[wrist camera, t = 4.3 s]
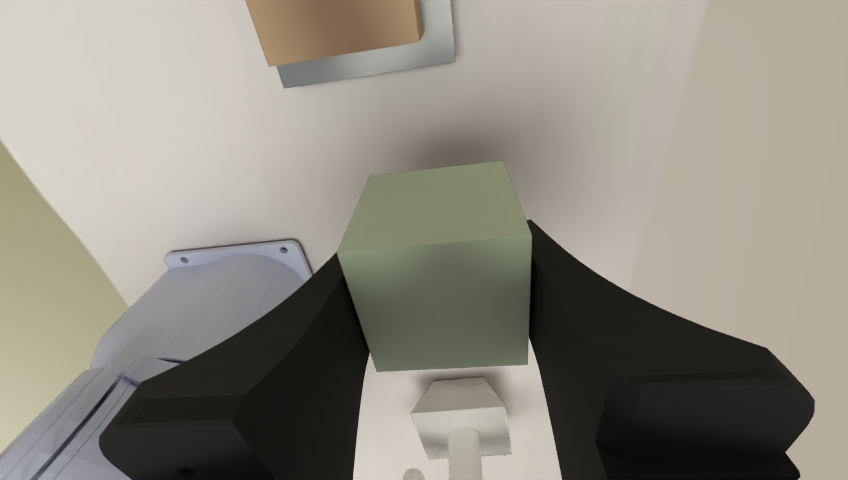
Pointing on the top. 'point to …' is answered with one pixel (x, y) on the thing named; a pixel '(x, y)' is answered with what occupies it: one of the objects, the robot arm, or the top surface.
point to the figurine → (461, 426)
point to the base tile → (382, 53)
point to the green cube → (440, 268)
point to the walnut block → (332, 27)
